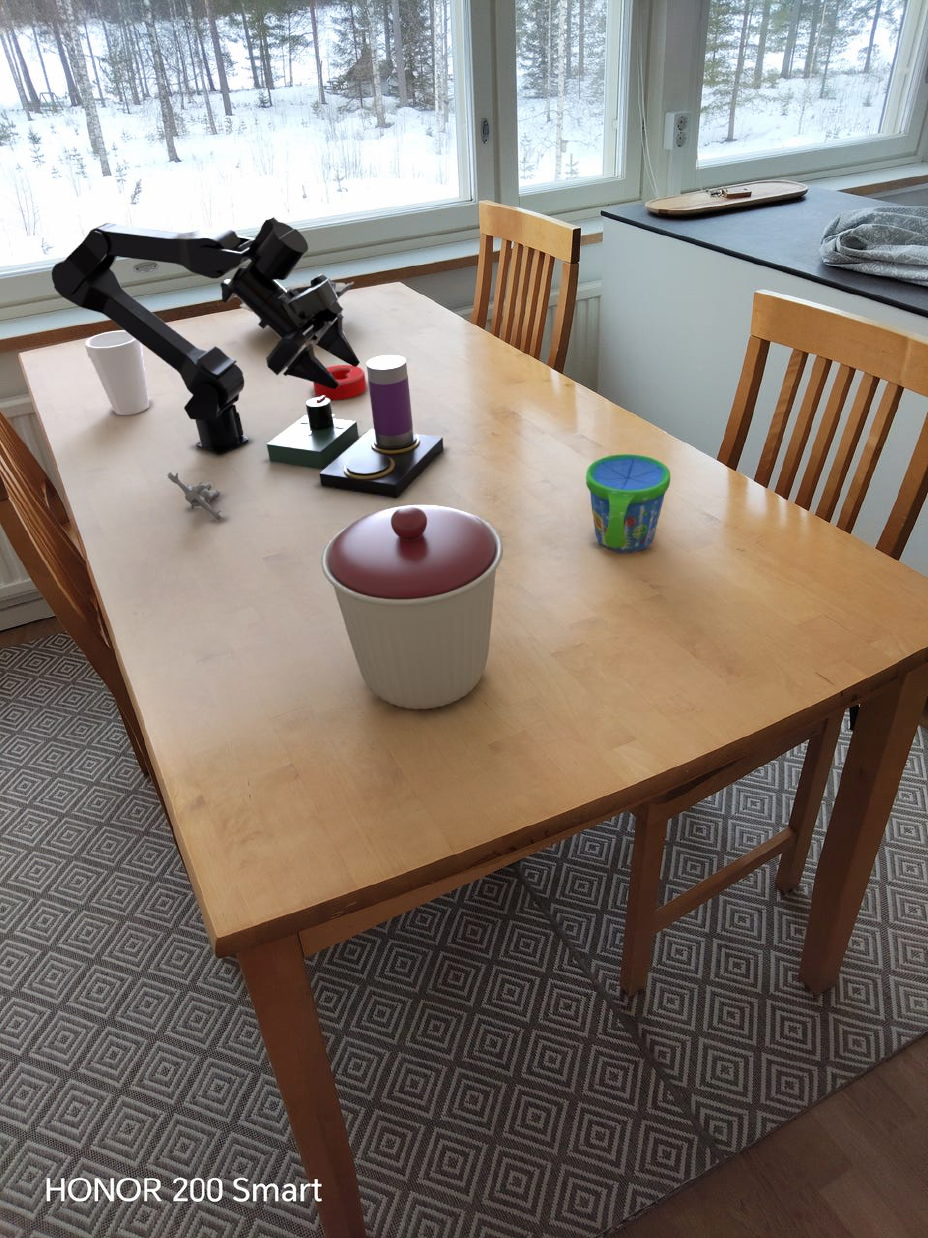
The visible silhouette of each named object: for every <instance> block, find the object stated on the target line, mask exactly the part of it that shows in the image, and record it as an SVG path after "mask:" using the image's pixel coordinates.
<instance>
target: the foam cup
mask: <svg viewBox="0 0 928 1238" xmlns="http://www.w3.org/2000/svg"><path fill="white" fill-rule="evenodd" d="M83 344H84V347H85V350H86V352H87V353H86V354H87V357H88V358H89V359H90V361H91V363H92V365H93V367H94V369H95V372H96V374H97V377H98V378H99V380H100V383H101V385H102V388H103V390H104V392H105V394H106V396H107V398H108V400H109V403H110V405H111V408H112V409H113V412H114V413H115V414H116V415H121V416H130V415H135V414H140V413H141V412H144V411H146V410H147V409H149V407H150V399H149V391H148V384H147V383H148V382H147V376H146V368H145V361H144V354H143V353H144V352H143V348H144V345H143V344H142V343H140V342H139V341H138V340H136V339H135V338H134V337H133V336H131V335H130V334H129V333H127V332H126V331H125V330H124V329H122V330H121V329H119V330H112V331H106V332H102V333H99V334H96V335H95V334H94V335H93V336H91V337H89V338H87V339H86V340H85V342H84V343H83Z"/></svg>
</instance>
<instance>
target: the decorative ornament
mask: <svg viewBox="0 0 928 1238" xmlns="http://www.w3.org/2000/svg"><path fill="white" fill-rule="evenodd" d="M325 368H326V369H327V370H328V371H329V372H330V373H331V374H332V376H333V377H334V378H335V379H336V381H337V382H338V383H339V386H338V387H337V388H336V389H332V388H329V387H326V386H323V385H320V384H317V383H314V382H312V383H313V388H314V394H315V396H317V397H321V396H325V398H328V399H330V401H339V400H346V399H347V400H348V399H351V398H352V399H353V398H355V397H357V396H359V395H362V394H363V393H365V391H366V390H367V382H366V381H367V380H366V374H365V370H364V369H363V368H361V367H359V366H357V367H354V366H352V365H350V364H339V365H332V366H331V365H330V366H328V367H325Z"/></svg>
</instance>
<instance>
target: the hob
mask: <svg viewBox="0 0 928 1238" xmlns="http://www.w3.org/2000/svg"><path fill="white" fill-rule="evenodd" d="M444 449H445V448H444V439H443V437H442V436H435V435H433V436H432V435H426V434H417V433H414V432H413V440H412V441H411V442H409V443H407V444H405V445H401V446H394V447H388V446H382V445H380V444H378V443H377V442H376V437H375V430H374V428H370V429H369V430H368V431H366V432H365V433H364V434H363V435H362V436H361V437H359V438H358V439H357V440H356V441H355V442H353V443H352V444H351V445H350V446H349V447H348V448H347V449H345V450H344V451H343V452H342V453H341V454H340V455H338V456H337V457H336V458H335V459H334V460H333V461H331V462H330V463H329V464H328V465H327V466H326V467H325V468H323V469H322V471H320V472H319V475H318V476H319V481H320V486H321V487H325V488H331V489H338V490H342V491H350V492H357V493H363V494H369V495H376V496H382V497H387V498H389V497H390V498H395V499H397V498H398V497H400V495H401V494H402V493H404V492H405V491H406V490H407V488H408V487H409V486H410V485H411V484H412V483H414V481H415V480H416V479H417V478H418V477H419V476H420V475H421V474H423V472H424V471H425V470H426V469H427V468H428V466H429V465H431V464H432V462H433V461H435V459H436V458H438V456H439V455H440V454H441V453H442V452H443V451H444Z"/></svg>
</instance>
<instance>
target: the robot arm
mask: <svg viewBox="0 0 928 1238" xmlns="http://www.w3.org/2000/svg"><path fill="white" fill-rule="evenodd" d="M308 250H309V244H308V242H307V240H306V238H305V237H304V235H303V234H302V233H301V232H300V231H299V230H298V229H297V228H293V227H292V226H290V225H289V224H287V223H285V222H281V221H278V220H277V219H276V218H275V217H274V216H270V217H268V218H266V219H265V221H264V222H263V223H262V225H261V226H260V230H259V232H258V233H257V235H256V236H255V237H249V236H242V235H238V234H237V233H236V231H234V230H233V229H231V228H227V227H216V228H207V229H200V230H195V231H190V232H178V231H177V232H176V231H167V230H160V229H151V228H142V227H134V226H126V225H118V224H116V223H112V222H107V223H106V222H105V223H104V224H102V225H99V226H96V227H94V228H92V229H91V230H90V231H89V232H88V234H87V235H86V236H85V238H84V239H83V240H82V241H81V243H80V244H79V245H78V246H76V248H75V249H74V250H73V251H72V252H71V253H70V254H69V255H68V256H67V257H66V258H65V259H64V260H62V261H59V262H57V263H56V264H55V265H54V266H53V267H52V271H51V280H52V283H53V288H54V289H55V291H56V293H58V294H59V295H60V297H62V298H64V300H67V301H68V302H71V303H72V304H74V305H76V306H78V307H79V308H82V309H85V310H88V311H92V312H96V313H99V314H102V315H104V316H105V317H107V318H108V319H109V320H110V321H112V322H113V323H114V324H116V326H118V327H120V328H121V329H122V330H125V331H126V332H127V333H129V334H130V335H131V336H133V337H134V338H135V339H136V340H138V341H139V342H140V343H142V346H143V347H145V348H147V349H148V350H149V351H150V352H152V353H153V354H155V355H156V356H157V357H158V358H159V359H161V360H162V361H164V363H166V364H167V365H169V366H170V367H171V368H172V369H174V370H175V371H176V372H177V373H178V374H179V376H180V378H181V379H182V381H183V383H184V385H185V387H186V389H187V391H188V392H189V393H190V394H191V395H192V396H191V398H190V399H189V400H188V401H187V403H186V404H185V405H184V407H183V409H184V411H185V412H186V414H187V416H188V418H189V420H195V424H196V429H197V432H198V437H199V441H198V442H196V443H195V446H196V448H199V449H201V450H204V451H206V452H210V453H212V454H215V455H223V454H225V453H227V452H229V451H232V450H234V449H235V448H238V447H240V446H242V445H245V444H246V443H249V438H248V437H247V436H244V430H243V429H244V428H243V424H242V420H241V416H240V415H241V414H240V412H239V411H237V406H236V405H235V403H236V402H238V401H239V399H240V393H241V392H242V391H243V390H244V387H245V377H244V372H243V370H242V369H241V368H240V367H239V366H238V365H237V360H236V359H233V358H232V357H229V356H228V355H227V354H226V353H225V352H223V350H222V349H221V348H219V347H218V346H216V345H214V346H213V347H212V348H210V349H209V350H203V349H200V348H198V347H197V346H196V345H194V344H192V342H190V341H188V339H186V338H185V337H183V335H182V334H180V333H178V332H177V331H176V330H175V329H174V328H172V327H171V326H170V325H169V324H167V323H166V322H165V321H163V320H162V319H161V318H159V316H157V315H156V314H155V313H153V312H152V311H150V310H149V309H148V308H147V307H146V306H144V305H143V304H141V303H140V302H139V301H138V300H137V299H135V298H134V297H132V295H130V294H129V293H127V292H126V291H125V290H124V289H123V288H122V285H121V284H120V282H119V279H118V277H117V275H116V274H115V272H114V271H113V269H111V268H112V266H113V265H114V264H115V262H116V260H117V258H124V259H125V258H126V259H133V260H141V261H151V262H159V263H165V264H166V263H167V264H173V265H174V264H175V265H178V266H181V267H183V268H184V269H186V270H187V271H189V272H190V273H193V274H196V275H199V276H202V277H205V278H208V279H214V280H215V279H219V278H222V277H224V276H225V275H227V274H228V273H229V272H232V271H233V270H235V269H236V268H237V270H236V271H235V272H234V274H233V276H232V277H231V278H230V279H229V278H228V279H224V281H222V282H220V284H219V286H220V288H221V301H222V302H223V303H228V302H229V301H231V300H233V298H235V297H237V298H238V299H239V300H240V301H241V302H242V303H244V304H245V305H246V306H247V307H248V308H249V309H251V310H252V311H253V312H252V313H254V314H255V316H257V317H258V319H259V323H258V324H257V325H258V326H259V327H260V328H261V329H262V330H264V329H266V328H267V327H269V329H271V330H272V332H274V334H276V335H277V336H278V337H279V338H280V340H279V341H278V342H277V344H276V345H275V346H274V347H273V348H272V350H271V351H270V352H269V354H267V356H266V358H265V360H266V365H267V368H268V369H269V370H270V371H272V372H273V374H274V375H276V376H279V375H280V374H281V373H282V372H283V373H282V375H283V376H285V377H287V376H289V377H290V376H291V377H294V378H297V379H302V380H305V381H308V382H312V383H313V382H314V383H317V384H320V385H323V386H326V387H329V388H332V389H336V388H337V387H338V386H339V383H338V382H337V381H336V379H335V378H334V377H333V376H332V374H331V373H330V372H329V371H328V370H327V369H326V368H327V367H326V366H325V365H324V364H323V363H322V362H321V361H320V360H319V358H318V357H317V356H316V354H315V350H314V344H313V341H315V342H316V343H315V346H317V347H319V348H320V349H322V350H324V351H325V352H327V353H328V354H330V355H332V356H334V357H336V358H337V359H339V360H341V361H343V362H344V363H346V364H347V365H352V366H354V367H359V365H360V359H359V357H358V355H357V354H356V353H355V351H354V349H353V347H352V345H351V343H350V342H349V340H348V338H347V335H346V333H345V332H344V330H343V320H344V318H345V317H344V314H343V311H344V308H343V307H342V306H341V305H339V304H340V303H339V302H338V303H339V304H338V303H337V302H336V301H338V300H339V298H338V297H337V295H336V293H335V288H336V284H335V283H336V282H335V281H332V280H331V278H328V277H327V276H326V275H324V274H323V273H320V274H318V275H316V276H314V277H313V278H312V279H311V280H310V284H311V288H309V289H308V290H307V291H305V292H303V293H301V294H300V293H298V292H297V291H296V290H295V289H292V288H291V289H290V290H288V291H286V290H285V289H284V288H285V287H283V286H282V285H281V284H280V283H279V282H278V281H285V280H286V279H288V277H289V276H290V275H291V274H292V272H293V271H294V270H295V268H296V267H297V265H298V264H300V261H301V260H302V259H303V257H304V256H305V255H306V253H307V252H308ZM249 260H250V262H249V264H248V265H247V266H241V267H240V265H242V264H243V263H245V262H247V261H249ZM277 280H278V281H277ZM341 312H342V314H341V316H339V314H340V313H341ZM338 316H339V317H338ZM337 317H338V318H337ZM336 318H337V319H336ZM260 319H261V320H260ZM309 340H312V341H310V342H309ZM308 342H309V343H308ZM306 343H308V344H307V345H306ZM284 370H285V371H284ZM314 383H313V384H314Z"/></svg>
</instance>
